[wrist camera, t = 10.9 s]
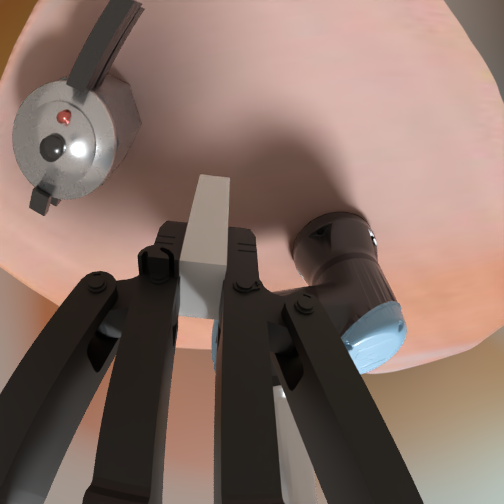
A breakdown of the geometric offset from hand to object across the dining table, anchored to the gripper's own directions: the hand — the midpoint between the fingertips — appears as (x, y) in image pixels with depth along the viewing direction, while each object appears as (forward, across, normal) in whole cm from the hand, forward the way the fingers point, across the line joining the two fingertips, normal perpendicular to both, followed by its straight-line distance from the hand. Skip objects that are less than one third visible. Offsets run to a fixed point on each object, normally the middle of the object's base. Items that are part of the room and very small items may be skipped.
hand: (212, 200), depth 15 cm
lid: (+19, -18, 0) cm, 26 cm away
